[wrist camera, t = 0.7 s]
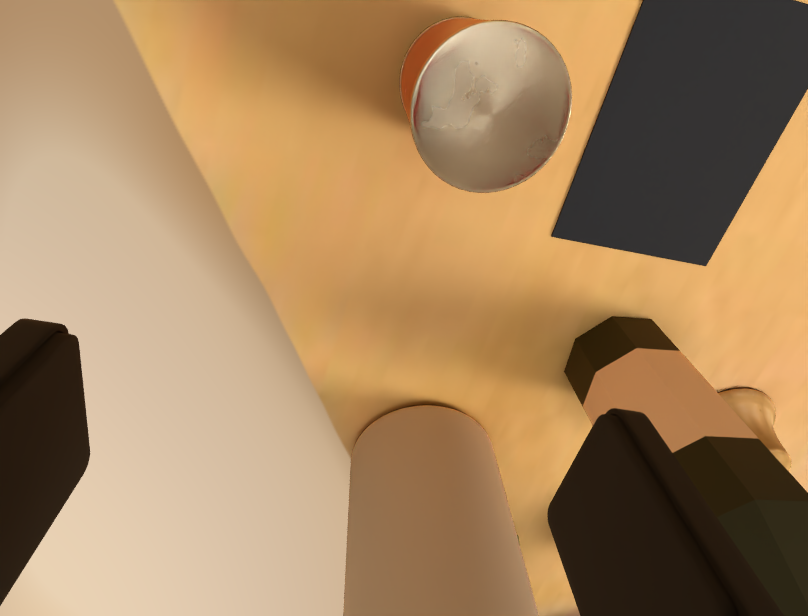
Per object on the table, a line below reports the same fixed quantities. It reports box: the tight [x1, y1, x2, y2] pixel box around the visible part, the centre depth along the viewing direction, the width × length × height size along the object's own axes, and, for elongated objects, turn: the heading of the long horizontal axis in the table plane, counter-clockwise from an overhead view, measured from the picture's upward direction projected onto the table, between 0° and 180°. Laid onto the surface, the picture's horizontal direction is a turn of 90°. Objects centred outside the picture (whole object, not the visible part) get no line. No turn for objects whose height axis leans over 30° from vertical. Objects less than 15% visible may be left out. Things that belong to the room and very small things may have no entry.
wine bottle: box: [564, 317, 808, 616], centre depth 27 cm, size 8×8×30 cm
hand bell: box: [718, 388, 791, 472], centre depth 38 cm, size 8×8×16 cm
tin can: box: [399, 17, 572, 193], centre depth 25 cm, size 7×7×10 cm
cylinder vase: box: [343, 405, 539, 616], centre depth 34 cm, size 12×12×25 cm
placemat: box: [552, 0, 808, 266], centre depth 31 cm, size 16×12×1 cm
